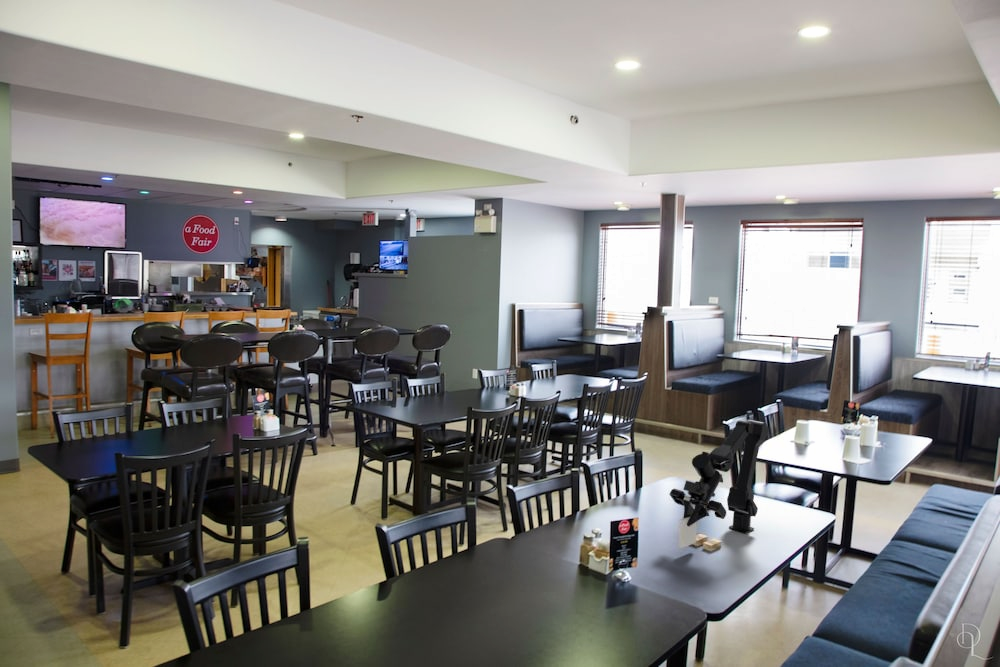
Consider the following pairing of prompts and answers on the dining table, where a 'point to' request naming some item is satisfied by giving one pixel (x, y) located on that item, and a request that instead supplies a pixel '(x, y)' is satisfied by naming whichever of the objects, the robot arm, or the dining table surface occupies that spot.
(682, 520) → the white board
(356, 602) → the dining table surface
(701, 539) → the oak holder
